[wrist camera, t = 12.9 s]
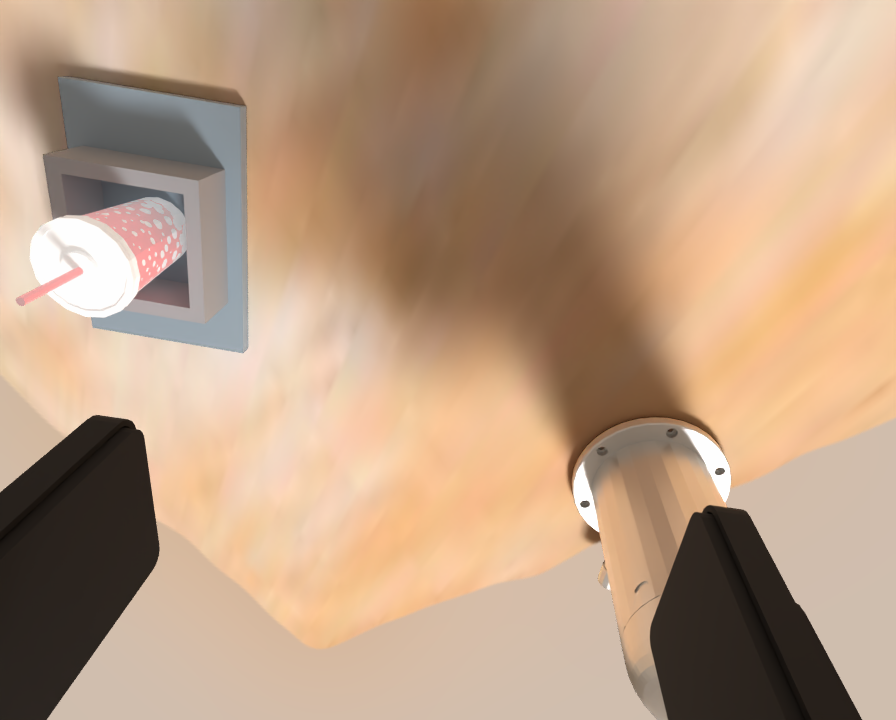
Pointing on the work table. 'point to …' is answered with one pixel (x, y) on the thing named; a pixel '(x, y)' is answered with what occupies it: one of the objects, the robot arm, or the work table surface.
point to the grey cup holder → (172, 179)
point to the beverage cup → (105, 255)
